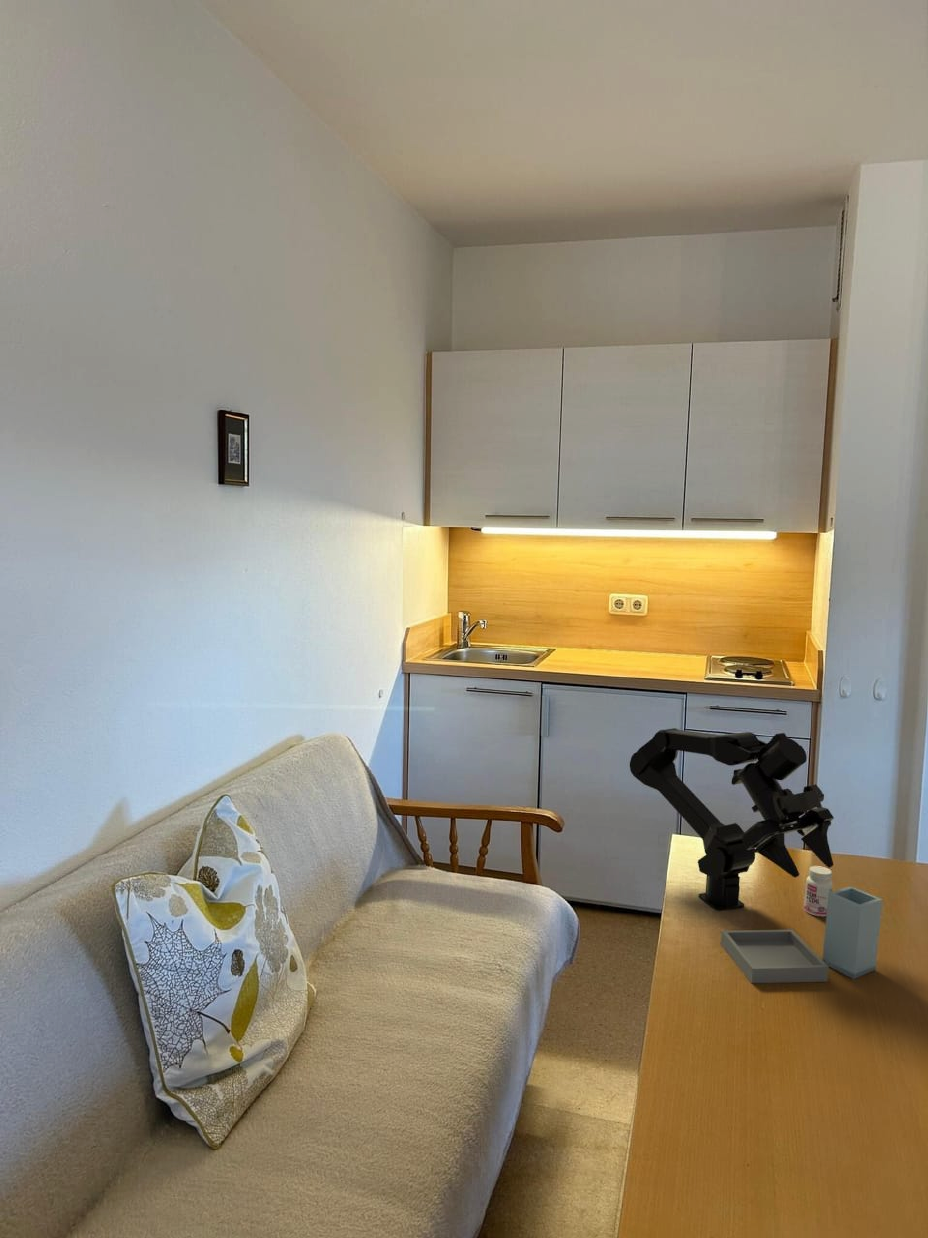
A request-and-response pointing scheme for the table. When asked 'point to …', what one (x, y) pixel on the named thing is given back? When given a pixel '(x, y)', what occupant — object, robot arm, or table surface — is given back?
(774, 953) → the shallow crate
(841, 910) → the slim crate
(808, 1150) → the table surface
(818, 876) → the pill bottle
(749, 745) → the robot arm
